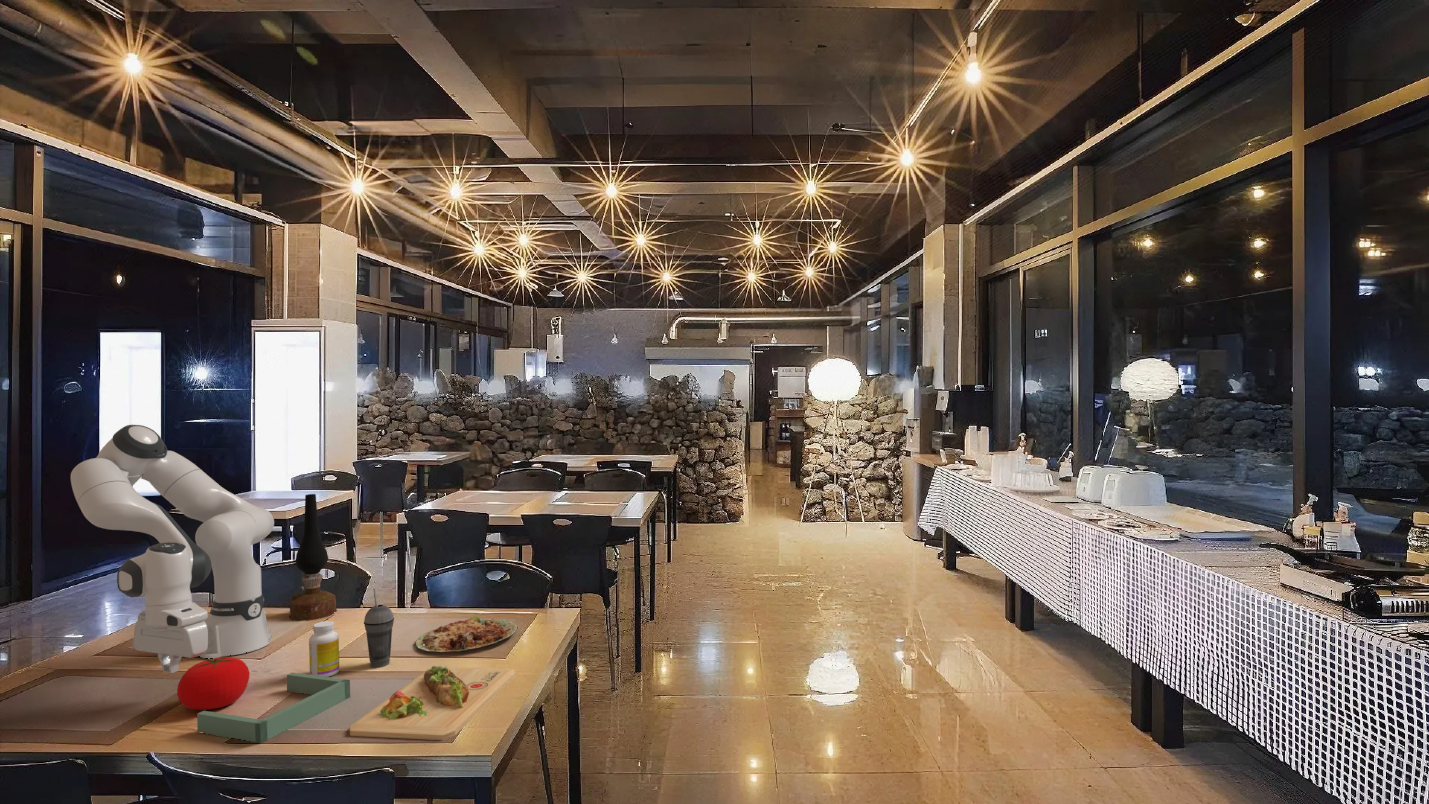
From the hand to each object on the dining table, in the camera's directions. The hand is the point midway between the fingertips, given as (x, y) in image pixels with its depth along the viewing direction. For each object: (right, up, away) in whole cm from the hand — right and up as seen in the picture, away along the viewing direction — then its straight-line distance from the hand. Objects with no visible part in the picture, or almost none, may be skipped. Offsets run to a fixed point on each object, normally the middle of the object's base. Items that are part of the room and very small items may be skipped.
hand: (170, 671), depth 167 cm
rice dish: (+57, -6, +38) cm, 69 cm away
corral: (+30, -6, -9) cm, 32 cm away
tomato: (+13, -6, -4) cm, 15 cm away
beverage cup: (+40, -6, +19) cm, 45 cm away
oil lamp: (-3, -6, +65) cm, 65 cm away
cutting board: (+65, -6, -4) cm, 65 cm away
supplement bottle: (+29, -6, +13) cm, 33 cm away
